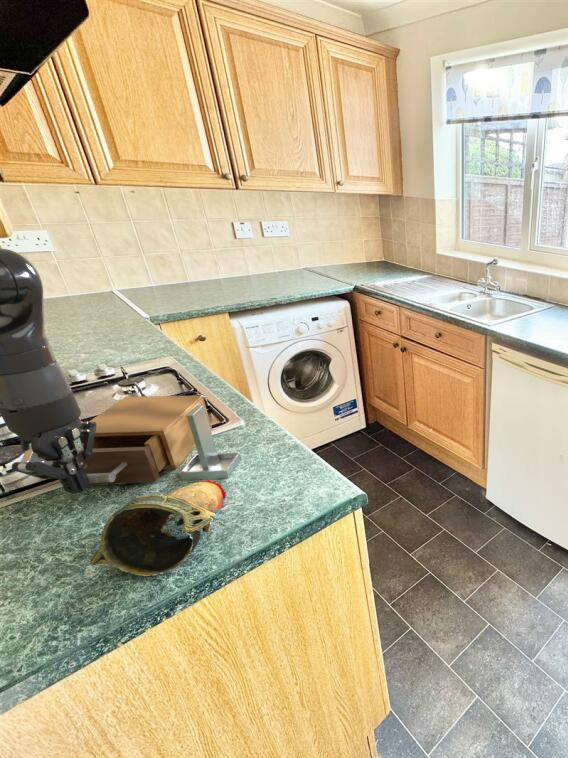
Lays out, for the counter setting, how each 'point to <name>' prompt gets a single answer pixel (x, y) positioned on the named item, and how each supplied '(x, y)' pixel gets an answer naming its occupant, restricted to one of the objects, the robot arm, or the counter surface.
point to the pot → (158, 529)
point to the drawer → (125, 459)
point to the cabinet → (153, 422)
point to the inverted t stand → (207, 452)
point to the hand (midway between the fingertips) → (79, 489)
